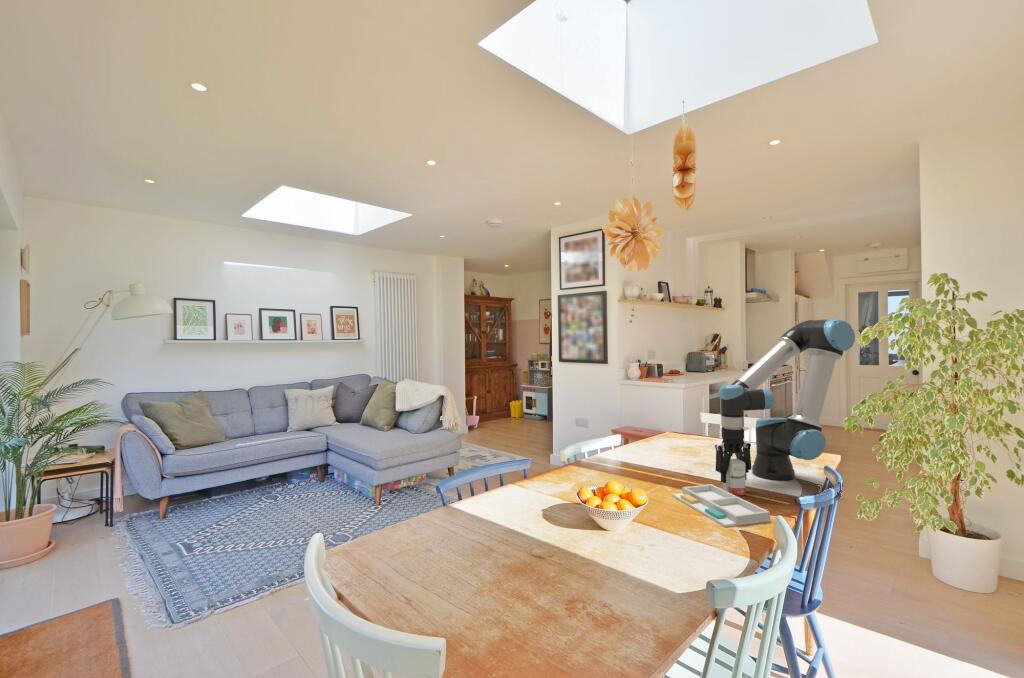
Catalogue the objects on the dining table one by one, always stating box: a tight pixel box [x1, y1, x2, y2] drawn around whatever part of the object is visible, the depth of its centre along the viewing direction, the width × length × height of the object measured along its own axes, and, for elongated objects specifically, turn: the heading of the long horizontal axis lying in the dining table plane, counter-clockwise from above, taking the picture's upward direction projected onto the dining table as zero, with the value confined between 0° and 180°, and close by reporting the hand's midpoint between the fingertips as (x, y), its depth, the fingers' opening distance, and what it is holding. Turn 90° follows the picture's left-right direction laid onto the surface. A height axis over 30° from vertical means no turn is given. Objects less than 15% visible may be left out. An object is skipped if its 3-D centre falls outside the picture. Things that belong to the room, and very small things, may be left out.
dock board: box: [672, 483, 771, 528], centre depth 155 cm, size 16×28×3 cm, turn 13°
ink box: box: [727, 456, 746, 496], centre depth 170 cm, size 9×5×12 cm, turn 179°
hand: (733, 490), depth 170 cm, fingers open, 6 cm apart
